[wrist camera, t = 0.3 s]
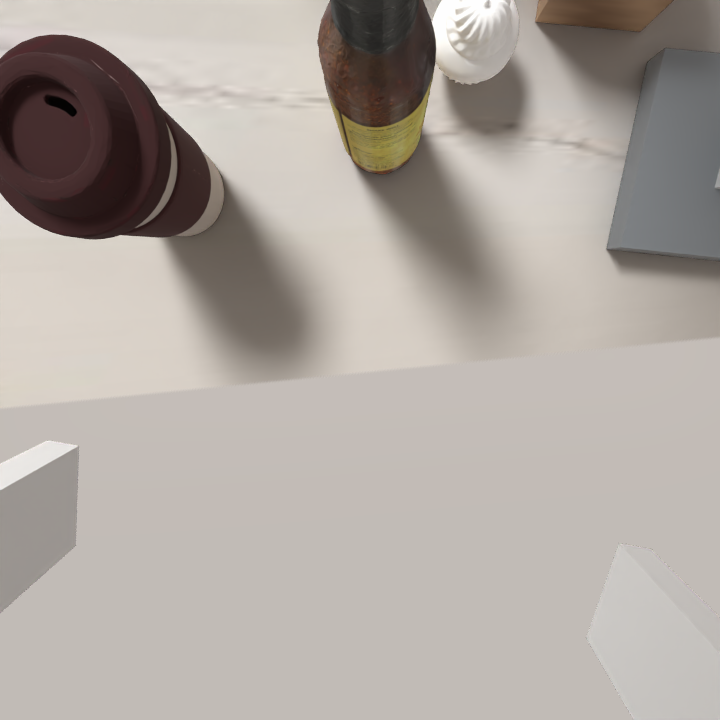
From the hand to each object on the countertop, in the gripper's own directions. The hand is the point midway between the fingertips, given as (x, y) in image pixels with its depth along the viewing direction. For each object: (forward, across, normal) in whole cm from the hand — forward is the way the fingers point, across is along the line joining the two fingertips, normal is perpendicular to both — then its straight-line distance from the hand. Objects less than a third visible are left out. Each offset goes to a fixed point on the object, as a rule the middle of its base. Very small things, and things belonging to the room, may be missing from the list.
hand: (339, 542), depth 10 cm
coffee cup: (+28, -18, +10) cm, 34 cm away
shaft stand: (+27, +25, +19) cm, 42 cm away
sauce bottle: (+28, -2, +18) cm, 33 cm away
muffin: (+28, +4, +24) cm, 37 cm away
